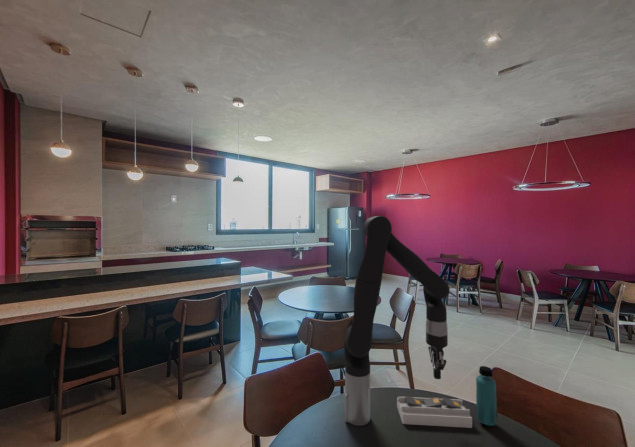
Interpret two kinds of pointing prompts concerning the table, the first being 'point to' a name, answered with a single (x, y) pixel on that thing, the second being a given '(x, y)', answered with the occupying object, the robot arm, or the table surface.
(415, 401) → the left rocker
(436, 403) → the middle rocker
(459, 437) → the table surface
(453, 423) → the power strip
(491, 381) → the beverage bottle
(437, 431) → the table surface
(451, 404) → the right rocker
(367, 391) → the robot arm
